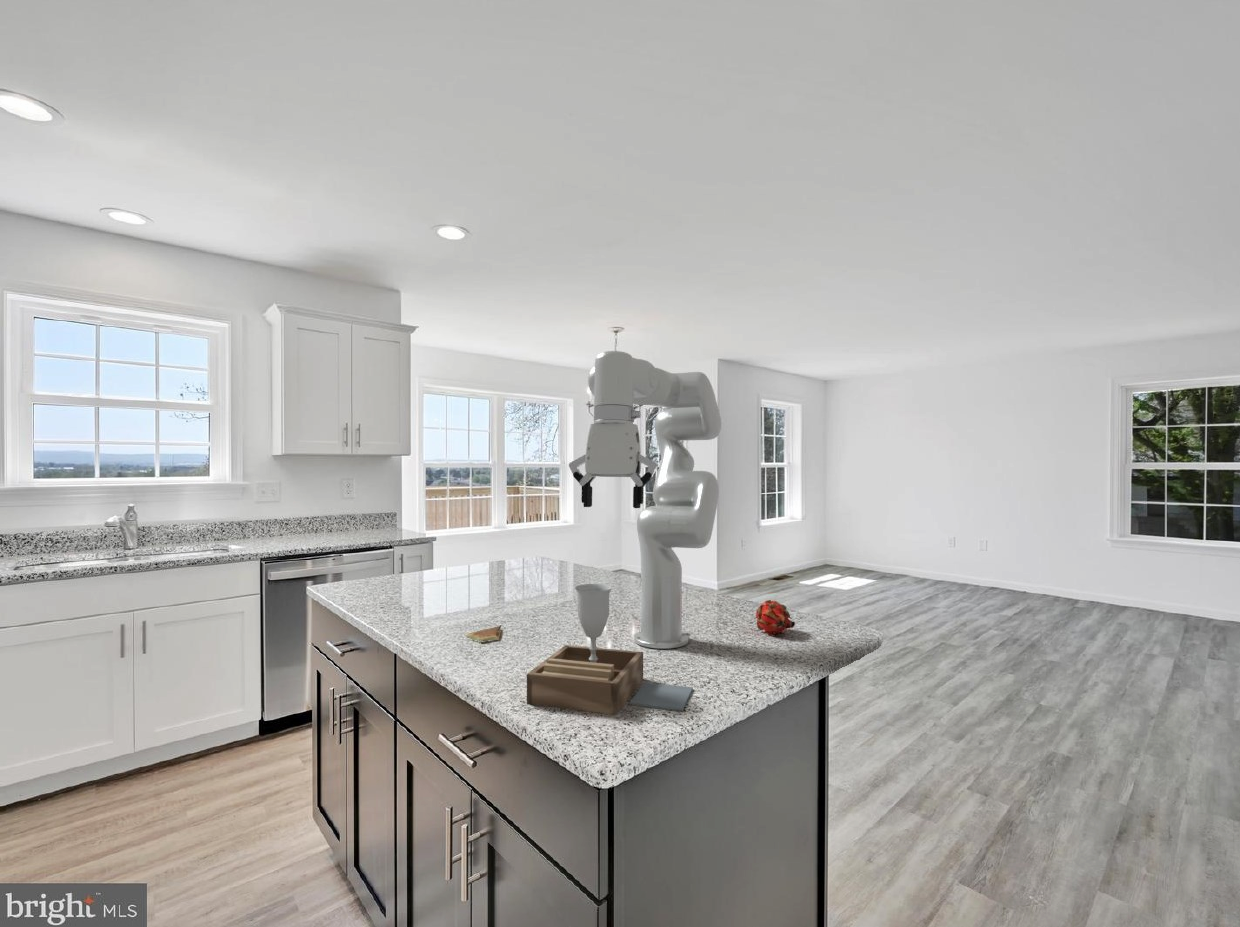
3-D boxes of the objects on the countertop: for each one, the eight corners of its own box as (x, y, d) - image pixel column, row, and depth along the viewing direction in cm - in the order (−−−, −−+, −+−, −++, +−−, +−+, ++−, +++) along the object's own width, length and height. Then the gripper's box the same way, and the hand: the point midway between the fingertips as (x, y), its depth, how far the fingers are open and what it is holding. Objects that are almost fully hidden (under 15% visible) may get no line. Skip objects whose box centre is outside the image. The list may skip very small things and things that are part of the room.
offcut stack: (549, 695, 103) (549, 658, 103) (614, 702, 100) (614, 664, 100) (541, 702, 100) (541, 664, 100) (607, 710, 96) (607, 671, 96)
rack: (565, 670, 116) (565, 645, 116) (643, 678, 111) (643, 652, 111) (526, 703, 99) (526, 674, 99) (616, 714, 94) (616, 683, 94)
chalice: (569, 681, 109) (569, 585, 110) (603, 676, 112) (603, 582, 113) (582, 694, 103) (582, 592, 103) (618, 689, 105) (618, 589, 106)
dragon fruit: (767, 632, 150) (784, 653, 138) (742, 613, 148) (756, 633, 137) (787, 606, 149) (806, 625, 137) (762, 587, 148) (778, 605, 136)
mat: (644, 684, 108) (644, 682, 108) (692, 689, 105) (692, 687, 105) (630, 704, 98) (630, 702, 98) (682, 711, 96) (682, 708, 96)
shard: (500, 631, 146) (500, 623, 146) (520, 636, 141) (520, 629, 141) (464, 640, 138) (464, 632, 138) (484, 646, 133) (484, 638, 133)
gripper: (661, 419, 112) (660, 508, 111) (577, 420, 116) (575, 506, 116) (653, 413, 105) (652, 508, 104) (563, 415, 109) (561, 506, 108)
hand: (612, 507), depth 110 cm, fingers open, 9 cm apart
